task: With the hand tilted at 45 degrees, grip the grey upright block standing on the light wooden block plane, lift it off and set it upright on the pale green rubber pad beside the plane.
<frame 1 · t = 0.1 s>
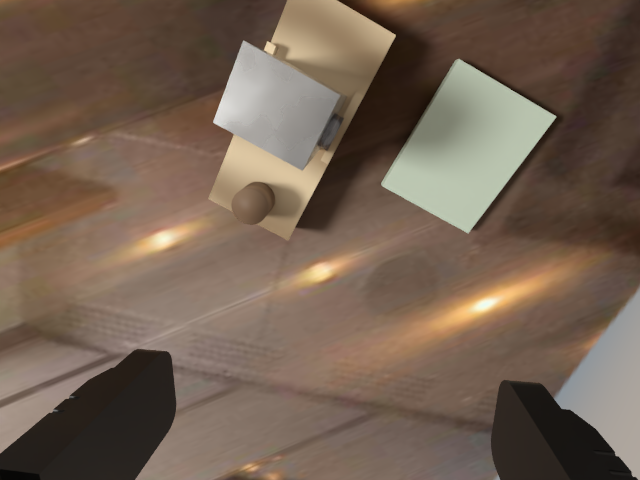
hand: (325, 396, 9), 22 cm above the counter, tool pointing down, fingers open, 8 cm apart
grey upright block: (301, 105, 24), point 3 cm above the counter, touching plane
pad: (460, 151, 27), on the counter
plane: (299, 123, 28), on the counter
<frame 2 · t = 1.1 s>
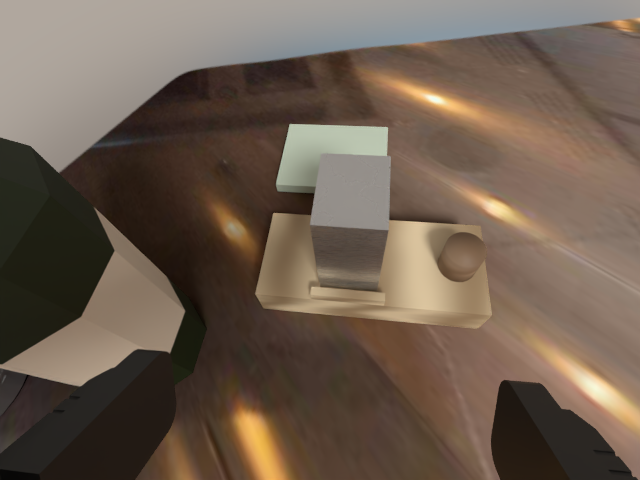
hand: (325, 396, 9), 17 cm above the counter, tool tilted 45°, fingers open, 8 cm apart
grey upright block: (350, 257, 26), point 3 cm above the counter, touching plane
wine bottle: (153, 343, 27), on the counter
pad: (334, 161, 35), on the counter
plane: (369, 276, 28), on the counter
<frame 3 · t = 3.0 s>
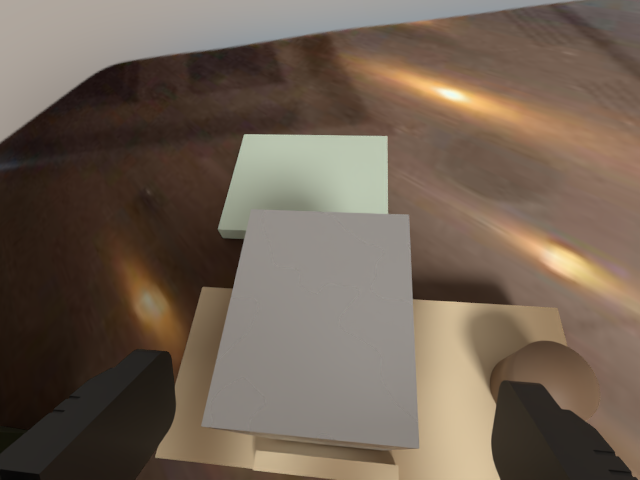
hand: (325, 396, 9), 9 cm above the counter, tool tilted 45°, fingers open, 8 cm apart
grey upright block: (332, 374, 15), point 3 cm above the counter, touching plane
pad: (309, 189, 23), on the counter
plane: (366, 389, 17), on the counter
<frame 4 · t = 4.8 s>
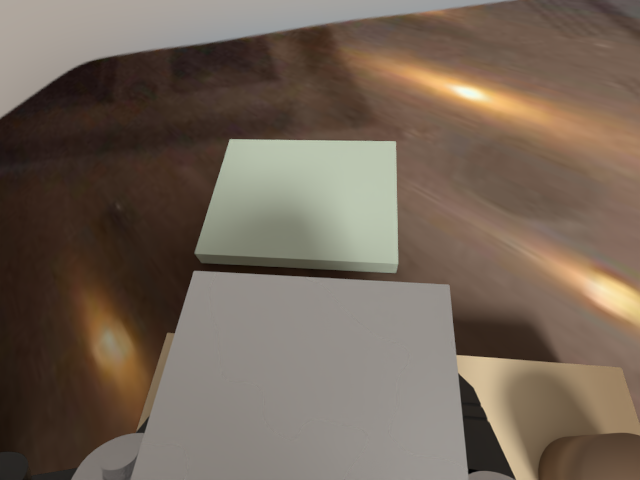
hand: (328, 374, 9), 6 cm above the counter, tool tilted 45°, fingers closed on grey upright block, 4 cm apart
grey upright block: (329, 458, 11), point 3 cm above the counter, touching gripper, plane
pad: (304, 204, 20), on the counter
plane: (372, 461, 13), on the counter
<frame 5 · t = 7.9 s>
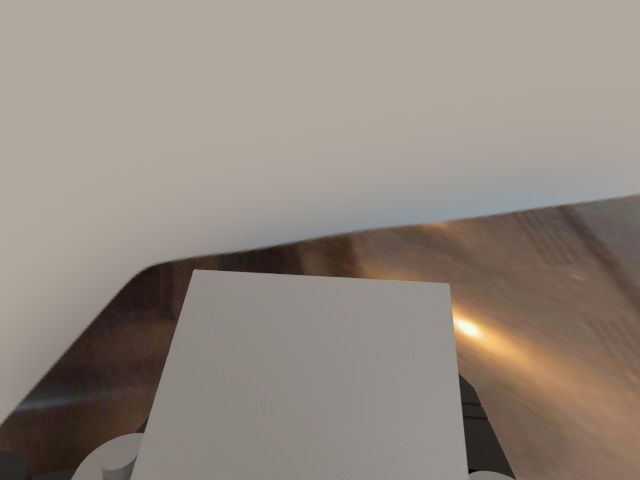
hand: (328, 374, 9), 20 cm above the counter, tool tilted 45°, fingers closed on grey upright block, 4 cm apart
grey upright block: (329, 457, 11), point 17 cm above the counter, touching gripper
when the fingers open (5 cm above the counter, at t = 11.3 s): grey upright block drops 1 cm, resting on pad.
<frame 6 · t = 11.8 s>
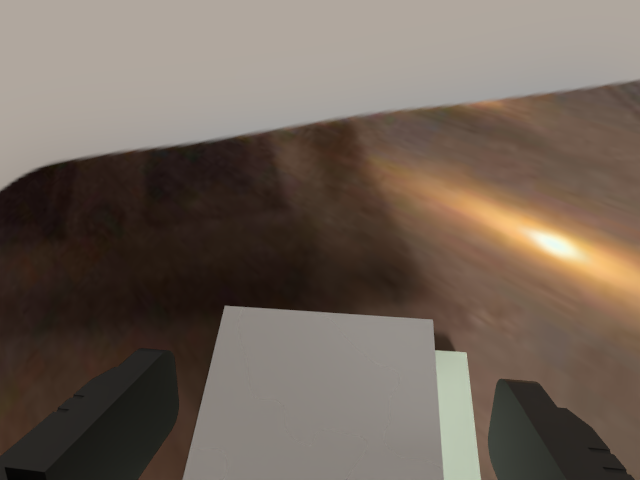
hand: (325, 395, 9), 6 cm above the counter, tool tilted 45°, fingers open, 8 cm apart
grey upright block: (333, 458, 12), point 1 cm above the counter, touching pad
pad: (332, 457, 13), on the counter
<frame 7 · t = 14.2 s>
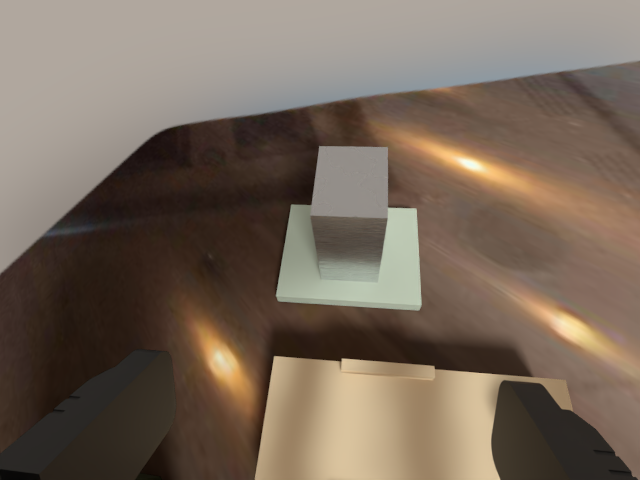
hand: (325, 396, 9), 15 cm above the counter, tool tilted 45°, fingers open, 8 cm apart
grey upright block: (351, 250, 26), point 1 cm above the counter, touching pad
pad: (350, 256, 27), on the counter
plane: (407, 440, 21), on the counter
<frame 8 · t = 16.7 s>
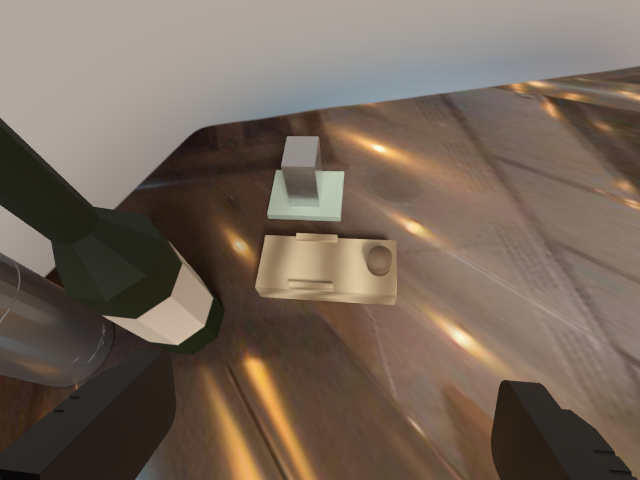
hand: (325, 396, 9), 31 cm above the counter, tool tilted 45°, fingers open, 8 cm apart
grey upright block: (307, 192, 50), point 1 cm above the counter, touching pad
wine bottle: (191, 320, 43), on the counter
pad: (307, 196, 51), on the counter
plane: (328, 274, 44), on the counter
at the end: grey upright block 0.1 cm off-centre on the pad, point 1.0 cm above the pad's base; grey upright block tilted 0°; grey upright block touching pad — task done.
